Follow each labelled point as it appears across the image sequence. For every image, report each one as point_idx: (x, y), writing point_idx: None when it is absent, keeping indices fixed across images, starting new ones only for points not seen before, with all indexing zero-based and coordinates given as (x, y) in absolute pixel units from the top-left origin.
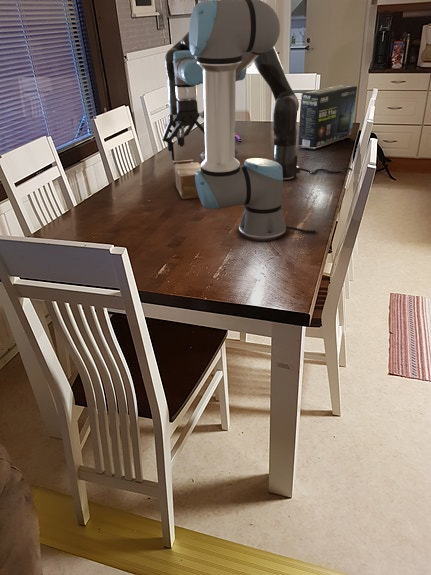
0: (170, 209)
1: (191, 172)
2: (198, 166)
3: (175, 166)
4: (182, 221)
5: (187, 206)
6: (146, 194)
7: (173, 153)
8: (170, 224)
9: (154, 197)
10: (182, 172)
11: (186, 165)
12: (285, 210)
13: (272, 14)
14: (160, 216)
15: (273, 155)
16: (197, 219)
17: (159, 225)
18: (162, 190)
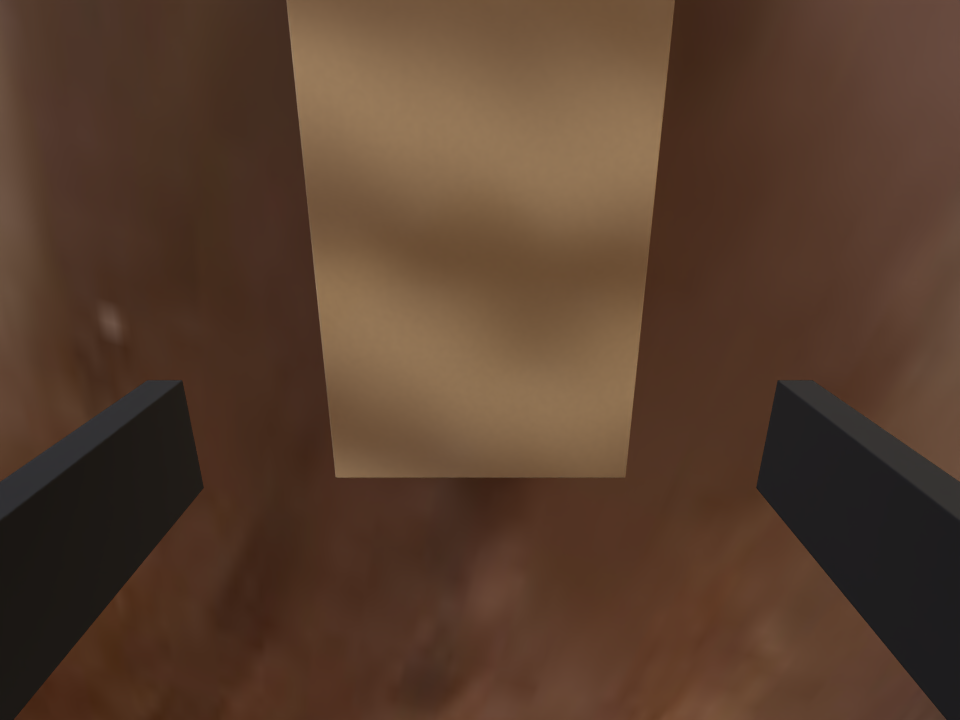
0: (281, 530)
1: (474, 388)
2: (623, 156)
3: (290, 21)
4: (343, 697)
5: (399, 515)
6: (63, 156)
7: (131, 564)
8: (276, 712)
9: (148, 261)
10: (368, 353)
11: (465, 31)
12: (930, 713)
13: None
14: (217, 610)
15: None
16: (428, 695)
17: (216, 708)
18: (211, 85)
